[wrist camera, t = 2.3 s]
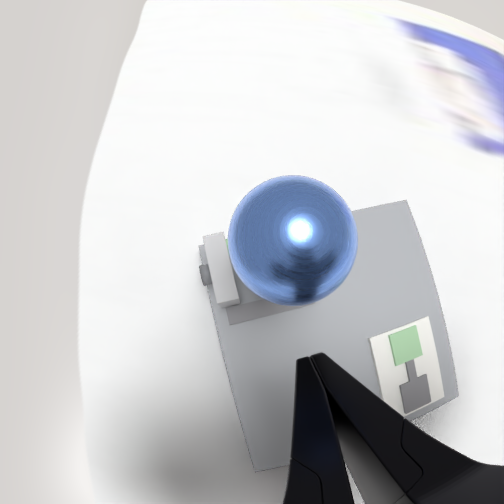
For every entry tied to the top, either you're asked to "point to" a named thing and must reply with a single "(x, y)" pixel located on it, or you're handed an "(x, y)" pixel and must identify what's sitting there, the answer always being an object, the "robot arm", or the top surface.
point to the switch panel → (335, 332)
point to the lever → (292, 240)
